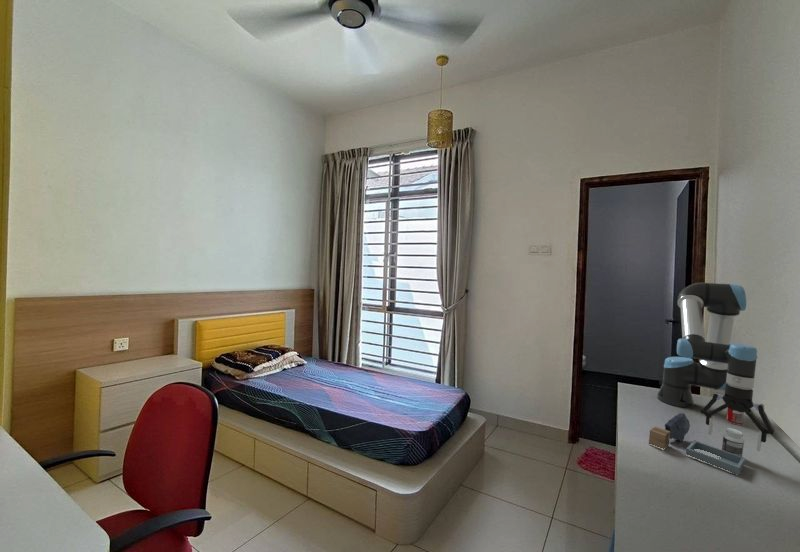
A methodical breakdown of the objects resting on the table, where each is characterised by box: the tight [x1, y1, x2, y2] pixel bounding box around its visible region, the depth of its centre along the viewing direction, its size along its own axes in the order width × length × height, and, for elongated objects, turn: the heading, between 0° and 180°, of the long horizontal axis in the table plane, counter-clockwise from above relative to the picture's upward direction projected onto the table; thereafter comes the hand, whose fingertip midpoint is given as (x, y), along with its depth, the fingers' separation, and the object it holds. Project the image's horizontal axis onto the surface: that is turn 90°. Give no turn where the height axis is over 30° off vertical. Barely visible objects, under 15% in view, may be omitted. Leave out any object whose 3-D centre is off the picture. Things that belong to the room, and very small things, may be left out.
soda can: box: [726, 407, 745, 426], centre depth 165 cm, size 6×6×12 cm
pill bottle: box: [721, 427, 745, 457], centre depth 135 cm, size 6×6×10 cm
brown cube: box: [648, 425, 670, 449], centre depth 141 cm, size 6×5×6 cm
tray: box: [685, 440, 746, 476], centre depth 132 cm, size 11×15×3 cm
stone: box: [664, 412, 691, 443], centre depth 147 cm, size 14×6×10 cm, turn 129°
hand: (733, 441), depth 135 cm, fingers open, 13 cm apart
